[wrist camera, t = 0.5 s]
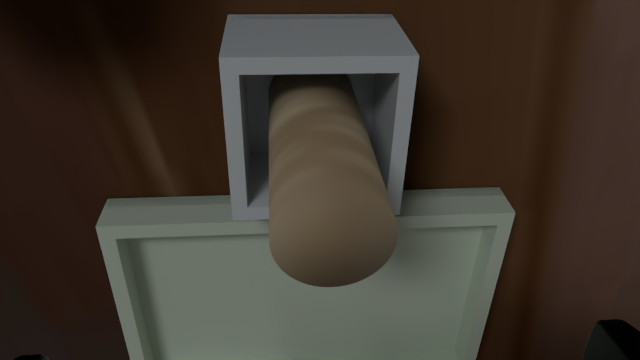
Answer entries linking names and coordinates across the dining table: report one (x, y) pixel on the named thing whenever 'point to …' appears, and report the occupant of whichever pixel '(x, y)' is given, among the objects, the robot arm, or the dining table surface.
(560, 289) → the dining table surface
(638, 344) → the robot arm
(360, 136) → the dowel
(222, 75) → the grey square sleeve
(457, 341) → the tray
